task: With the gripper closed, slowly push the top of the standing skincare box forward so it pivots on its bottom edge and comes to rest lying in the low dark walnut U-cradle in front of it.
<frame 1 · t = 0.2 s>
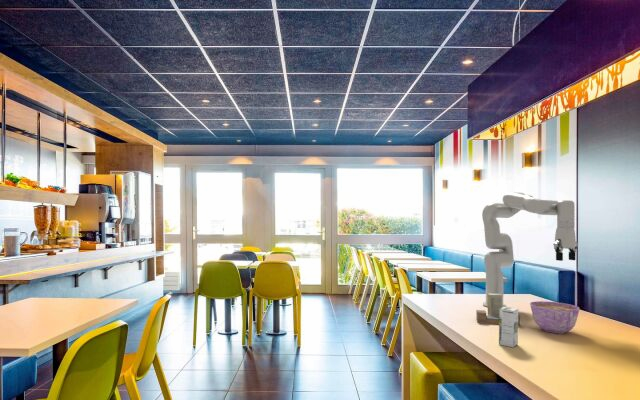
hand: (565, 260, 213), 31 cm above the table, tool pointing down, fingers open, 9 cm apart
walnut cradle: (497, 322, 211), on the table
syrup box: (508, 345, 174), on the table
skincare box: (494, 318, 222), on the table
bowl of food: (554, 331, 197), on the table
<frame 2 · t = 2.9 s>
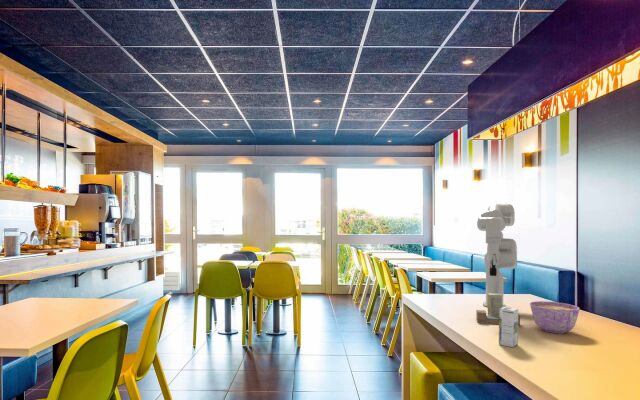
hand: (493, 275, 229), 21 cm above the table, tool pointing down, fingers closed
nothing on the table moved.
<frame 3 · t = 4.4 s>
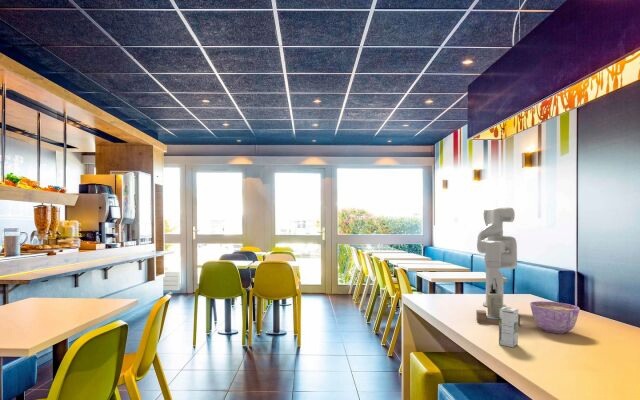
hand: (493, 299, 229), 8 cm above the table, tool pointing down, fingers closed
nothing on the table moved.
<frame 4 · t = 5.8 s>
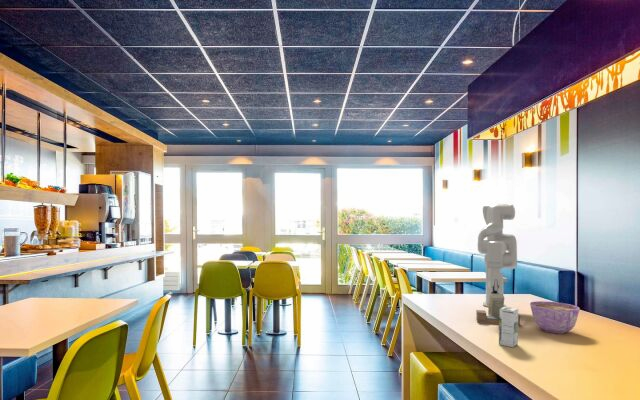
hand: (494, 301, 223), 8 cm above the table, tool pointing down, fingers closed
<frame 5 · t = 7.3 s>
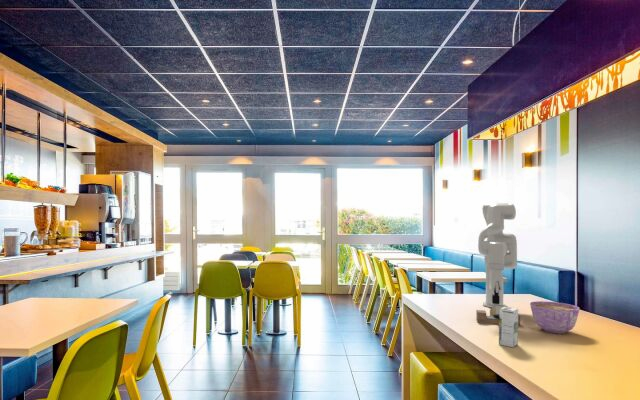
hand: (495, 303, 218), 8 cm above the table, tool pointing down, fingers closed
skincare box: (495, 314, 221), point 2 cm above the table, touching walnut cradle
everything else where it was.
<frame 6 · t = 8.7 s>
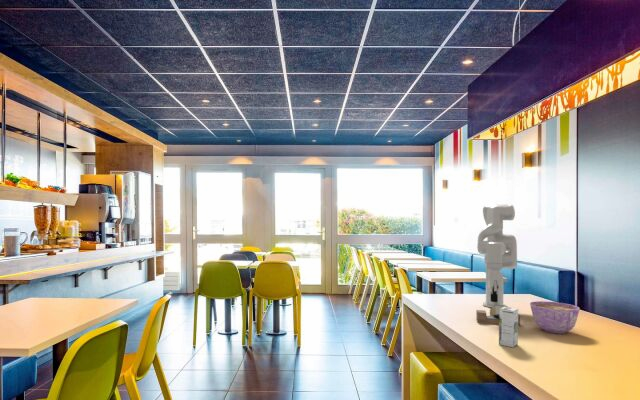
hand: (494, 301, 225), 8 cm above the table, tool pointing down, fingers closed
nothing on the table moved.
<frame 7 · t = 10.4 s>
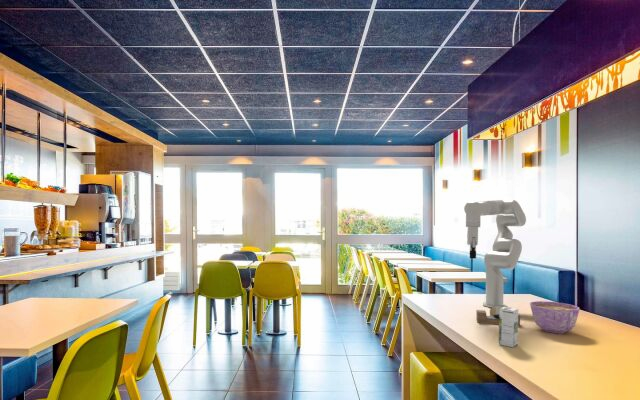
hand: (472, 258, 236), 29 cm above the table, tool pointing down, fingers closed
nothing on the table moved.
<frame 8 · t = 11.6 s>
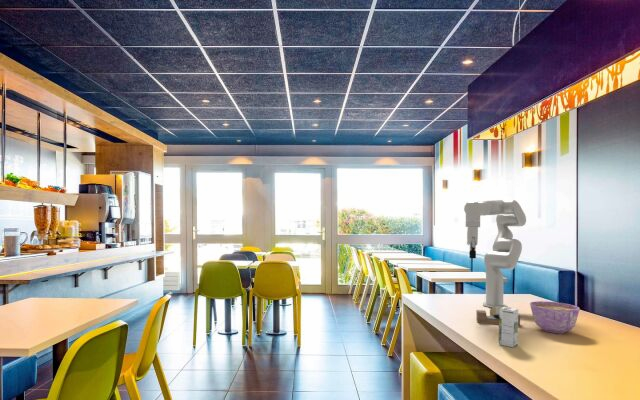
hand: (472, 258, 236), 29 cm above the table, tool pointing down, fingers closed
nothing on the table moved.
at the end: skincare box tilted 68°; skincare box touching table, walnut cradle; the gripper is holding nothing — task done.
